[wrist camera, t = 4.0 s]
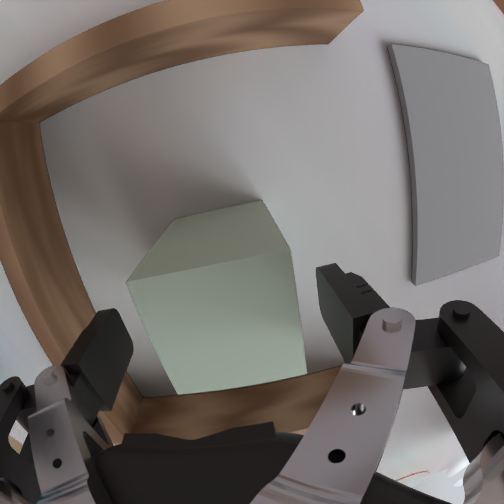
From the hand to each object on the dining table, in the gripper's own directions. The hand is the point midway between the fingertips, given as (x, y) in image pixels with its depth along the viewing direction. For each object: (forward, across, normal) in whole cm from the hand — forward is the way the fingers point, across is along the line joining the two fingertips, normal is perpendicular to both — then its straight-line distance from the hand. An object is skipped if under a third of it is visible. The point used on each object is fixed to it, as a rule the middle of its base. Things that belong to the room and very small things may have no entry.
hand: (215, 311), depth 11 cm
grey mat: (+6, -18, -3) cm, 19 cm away
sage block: (+6, 0, 0) cm, 6 cm away
